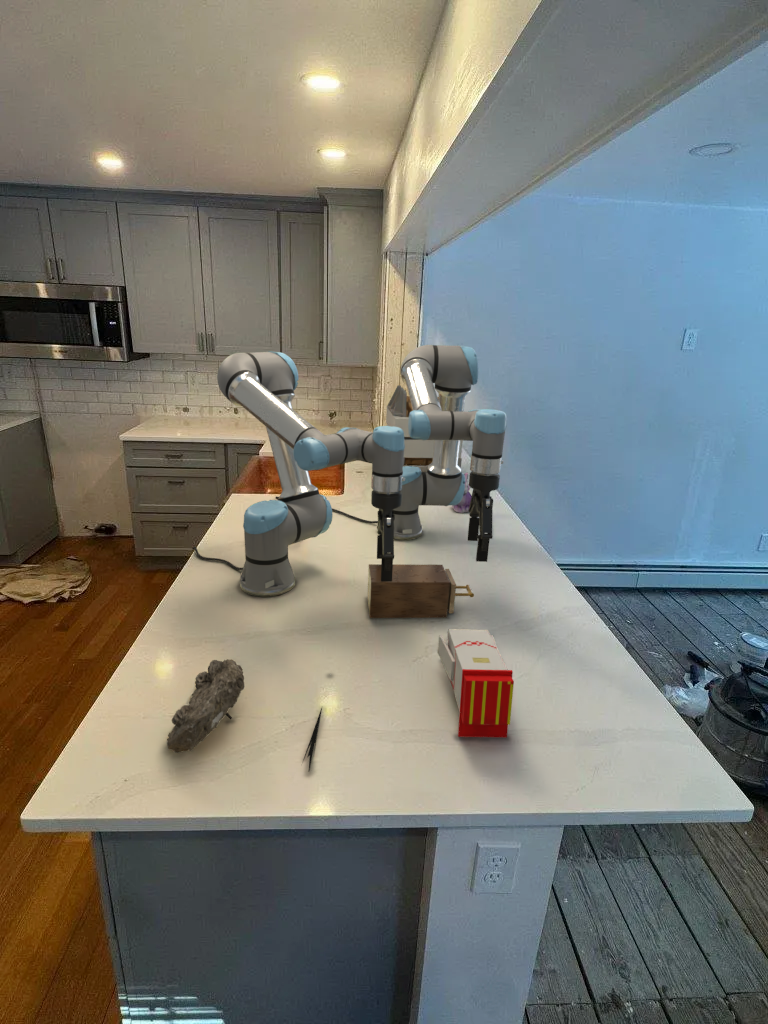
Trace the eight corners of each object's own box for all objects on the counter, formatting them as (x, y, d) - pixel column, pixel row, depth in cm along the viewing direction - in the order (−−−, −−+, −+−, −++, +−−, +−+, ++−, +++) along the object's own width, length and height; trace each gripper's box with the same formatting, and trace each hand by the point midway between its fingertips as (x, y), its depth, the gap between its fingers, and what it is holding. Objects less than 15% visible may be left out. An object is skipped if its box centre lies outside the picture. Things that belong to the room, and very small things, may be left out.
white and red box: (488, 613, 130) (523, 677, 101) (484, 667, 133) (517, 744, 104) (435, 612, 130) (455, 676, 101) (432, 666, 133) (451, 743, 103)
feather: (331, 679, 122) (336, 673, 122) (307, 777, 96) (313, 769, 95) (324, 675, 122) (329, 669, 121) (298, 772, 95) (304, 764, 95)
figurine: (459, 514, 221) (463, 477, 216) (445, 506, 229) (448, 470, 224) (479, 511, 225) (483, 475, 220) (464, 503, 234) (467, 468, 228)
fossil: (192, 660, 117) (244, 628, 112) (224, 691, 120) (276, 661, 115) (142, 746, 98) (202, 712, 93) (182, 779, 101) (242, 748, 96)
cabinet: (439, 598, 157) (442, 564, 153) (446, 617, 147) (450, 582, 143) (367, 598, 155) (368, 564, 151) (369, 618, 145) (371, 582, 141)
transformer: (382, 463, 289) (386, 382, 275) (445, 464, 293) (451, 384, 279) (390, 482, 257) (394, 392, 243) (460, 483, 261) (468, 394, 247)
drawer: (466, 596, 157) (469, 568, 154) (474, 613, 148) (477, 584, 145) (378, 596, 154) (379, 568, 151) (381, 613, 145) (382, 584, 143)
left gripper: (408, 506, 128) (404, 591, 135) (396, 476, 151) (393, 549, 158) (375, 506, 127) (372, 591, 134) (368, 476, 150) (366, 549, 157)
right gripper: (511, 487, 130) (501, 571, 138) (490, 460, 154) (482, 533, 161) (479, 486, 130) (470, 570, 137) (462, 459, 154) (456, 532, 161)
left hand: (384, 569), depth 146 cm, fingers open, 13 cm apart
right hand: (476, 550), depth 149 cm, fingers open, 13 cm apart
